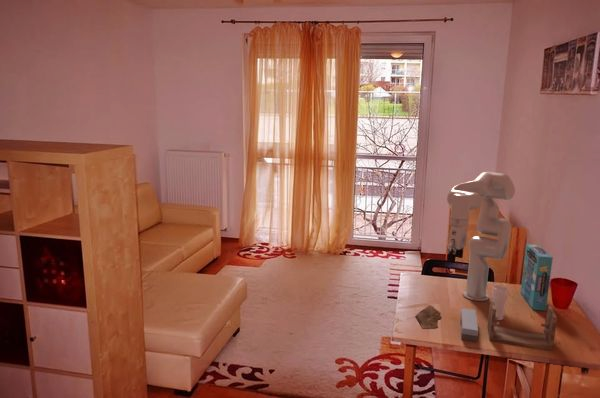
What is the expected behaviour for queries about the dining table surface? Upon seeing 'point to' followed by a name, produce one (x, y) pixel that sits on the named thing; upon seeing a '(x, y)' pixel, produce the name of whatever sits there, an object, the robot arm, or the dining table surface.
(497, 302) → the drinking glass
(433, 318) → the wooden fragment
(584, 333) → the dining table surface
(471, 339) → the support blocks
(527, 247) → the game box
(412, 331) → the dining table surface
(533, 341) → the shelf unit
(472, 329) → the shelf board
